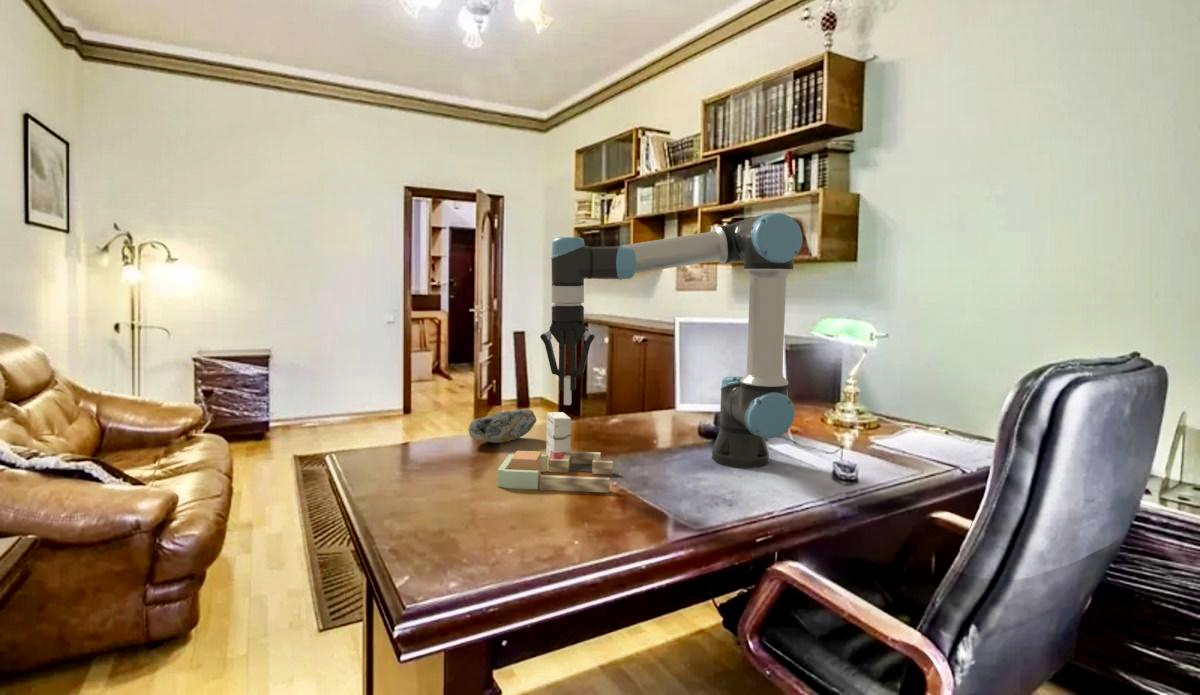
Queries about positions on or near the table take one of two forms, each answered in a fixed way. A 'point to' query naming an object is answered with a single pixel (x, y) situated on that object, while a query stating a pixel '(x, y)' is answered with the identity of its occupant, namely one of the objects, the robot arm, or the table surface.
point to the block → (526, 461)
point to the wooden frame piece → (578, 463)
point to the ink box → (558, 435)
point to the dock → (519, 475)
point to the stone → (502, 426)
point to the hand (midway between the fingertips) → (567, 403)
